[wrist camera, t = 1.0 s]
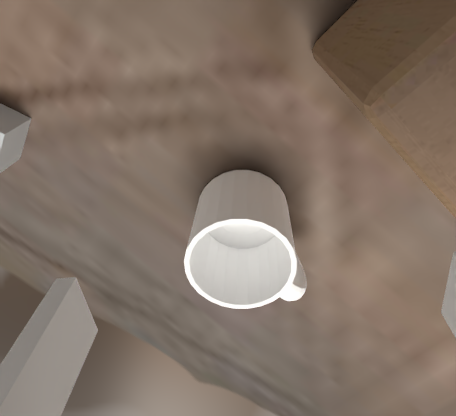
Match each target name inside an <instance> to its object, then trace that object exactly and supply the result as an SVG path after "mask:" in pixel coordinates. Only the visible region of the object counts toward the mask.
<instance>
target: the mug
mask: <svg viewBox="0 0 456 416" xmlns="http://www.w3.org/2000/svg"><path fill="white" fill-rule="evenodd" d="M184 264H185V273H186V275H187V277H188V279H189V282H190V284H191V285H192V286H193V287H194V288H195V290H196V291H197V292H198V293H199V294H201V295H202V296H203V297H205V298H206V299H208V300H209V301H211V302H214V303H216V304H218V305H221V306H225V307H230V308H234V309H249V308H254V307H259V306H263V305H265V304H268V303H270V302H273V301H274V300H276V299H277V298H279V297H281V298H282V299H284V300H286V301H295V300H298V299H299V298H301V297H302V295H303V294H304V293H305V290H306V286H307V281H306V275H305V272H304V269H303V266H302V264H301V262H300V260H299V257H298V256H297V254H296V252H295V246H294V240H293V234H292V228H291V222H290V216H289V210H288V205H287V201H286V197H285V194H284V193H283V191H282V190H281V188H280V186H279V185H278V184H277V183H275V182H274V181H273V180H272V179H271V178H269V177H268V176H266V175H264V174H262V173H260V172H255V171H251V170H233V171H229V172H225V173H223V174H221V175H219V176H217V177H215V178H214V179H212V180H211V181H210V182H209V183H208V184H207V185H206V186H205V188H204V190H203V191H202V193H201V195H200V197H199V201H198V205H197V209H196V213H195V217H194V221H193V225H192V229H191V233H190V238H189V242H188V246H187V250H186V254H185V259H184Z"/></svg>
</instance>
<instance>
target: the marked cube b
mask: <svg viewBox="0 0 456 416" xmlns="http://www.w3.org/2000/svg"><path fill="white" fill-rule="evenodd" d="M30 122H31V118H29V117H27V116H25V115H23V114H21V113H19V112H17V111H15V110H13V109H11V108H9V107H7V106H5V105H3V104H1V103H0V173H1V172H3V171H4V170H5V169H7V168H8V167H9V166H11V165H12V164H13V163H15V162H16V161H18V160H19V159H20V158H21V154H22V150H23V147H24V143H25V140H26V136H27V133H28V129H29V126H30Z"/></svg>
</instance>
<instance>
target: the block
mask: <svg viewBox="0 0 456 416" xmlns="http://www.w3.org/2000/svg"><path fill="white" fill-rule="evenodd" d="M312 52H313V56H314V59H315V60H316V61H317V62H318V63H319V65H320V66H321V67H322V68H323V69H324V70H325V71H326V73H327V74H328V75H329V76H330V77H331V78H332V79H333V80H334V82H335V83H336V84H337V85H338V86H339V87H340V88H341V90H342V91H343V92H344V93H345V94H346V95H347V96H348V97H349V99H350V100H351V101H352V102H353V103H354V104H355V105H356V107H357V108H358V109H359V110H360V111H361V112H362V113H363V114H364V116H365V117H366V118H367V119H368V120H369V121H370V122H371V123H372V125H373V126H374V127H375V128H376V129H377V130H378V131H379V133H380V134H381V135H382V136H383V137H384V138H385V139H386V140H387V142H388V143H389V144H390V145H391V146H392V147H393V148H394V149H395V151H396V152H397V153H398V154H399V155H400V156H401V157H402V158H403V160H404V161H405V162H406V163H407V164H408V165H409V166H410V168H411V169H412V170H413V171H414V172H415V173H416V174H417V175H418V177H419V178H420V179H421V180H422V181H423V182H424V183H425V184H426V186H427V187H428V188H429V189H430V190H431V191H432V192H433V193H434V195H435V196H436V197H437V198H438V199H439V200H440V201H441V202H442V204H443V205H444V206H445V207H446V208H447V209H448V210H449V212H450V213H451V214H452V215H453V216H454V217H455V218H456V0H357V1H356V2H355V3H354V4H353V5H352V6H351V7H350V8H349V9H348V10H347V11H346V12H345V13H344V14H343V15H342V16H341V17H340V18H339V19H338V20H337V21H336V22H335V23H334V24H333V25H332V26H331V27H330V28H329V29H328V30H327V31H326V32H325V33H324V34H323V35H322V36H321V37H320V38H319V39H318V40H317V41H316V43H315V45H314V47H313V49H312Z"/></svg>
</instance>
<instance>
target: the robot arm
mask: <svg viewBox="0 0 456 416" xmlns="http://www.w3.org/2000/svg"><path fill="white" fill-rule="evenodd" d="M441 313H442V315H443V317H444V318H445V320H446V322H447V324H448V325H449V327H450V329H451V331H452V332H453V334H454V336H455V338H456V252H453V256H452V261H451V266H450V271H449V276H448V281H447V286H446V291H445V296H444V301H443V306H442V310H441ZM97 331H98V329H97V327H96V325H95V322H94V320H93V317H92V315H91V312H90V310H89V308H88V305H87V303H86V300H85V298H84V295H83V293H82V291H81V288H80V286H79V283H78V281H77V279H76V277H74V278H60V279H56V280H55V281H54V283H53V285H52V286H51V288H50V289H49V291H48V292H47V294H46V295H45V297H44V299H43V300H42V301H41V303H40V305H39V306H38V308H37V309H36V311H35V312H34V314H33V315H32V317H31V319H30V320H29V321H28V323H27V325H26V326H25V328H24V329H23V331H22V332H21V334H20V335H19V337H18V338H17V340H16V341H15V343H14V345H13V346H12V348H11V349H10V351H9V352H8V354H7V355H6V357H5V358H4V360H3V362H2V363H1V365H0V416H61V414H62V412H63V409H64V407H65V405H66V403H67V400H68V398H69V396H70V393H71V391H72V389H73V386H74V384H75V382H76V379H77V377H78V375H79V373H80V370H81V368H82V366H83V364H84V361H85V359H86V357H87V354H88V352H89V350H90V347H91V345H92V343H93V340H94V338H95V336H96V334H97Z"/></svg>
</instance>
